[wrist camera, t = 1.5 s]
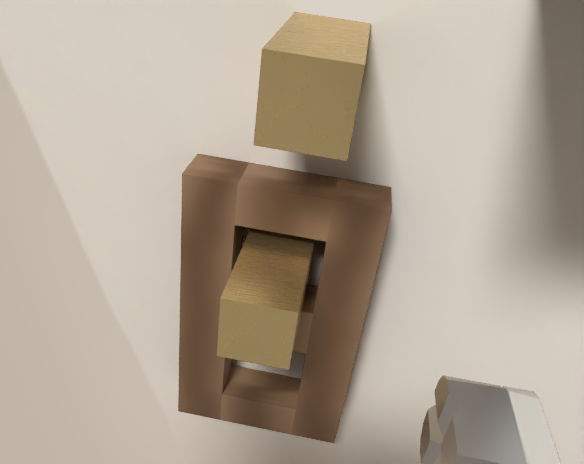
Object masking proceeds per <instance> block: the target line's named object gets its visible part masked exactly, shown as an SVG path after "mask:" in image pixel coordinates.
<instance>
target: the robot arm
mask: <svg viewBox="0 0 584 464" xmlns="http://www.w3.org/2000/svg"><path fill="white" fill-rule="evenodd" d="M435 399H436V405H435V406H433V407H431V408H430V409H428V411H427V414H426V417H425V420H424V423H423V428H422V434H421V445H420V456H421V464H561V461H560V458H559V455H558V452H557V449H556V446H555V443H554V441H553V438H552V435H551V432H550V429H549V426H548V423H547V420H546V417H545V414H544V411H543V408H542V405H541V402H540V399H539V397H538V395H537V394H536V393H535V392H533V391H527V390H522V389H516V388H510V387H505V386H503V387H501V386H498V385H492V384H487V383H481V382H476V381H471V380H465V379H460V378H454V377H449V376H444V375H443V376H442V377H441V379H440V380H439V382H438V384H437V387H436V389H435Z"/></svg>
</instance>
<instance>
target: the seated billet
mask: <svg viewBox="0 0 584 464" xmlns="http://www.w3.org/2000/svg"><path fill="white" fill-rule="evenodd" d="M314 242H315V239H309V238H304V237H298V236H293V235H287V234H282V233H276V232H271V231H265V230H260V229H254V228H250V230H249V232H248V235H247V237H246V240H245V242H244V244H243V247H242V249H241V251H240V254H239V256H238V258H237V261H236V263H235V265H234V268H233V270H232V272H231V275H230V277H229V279H228V282H227V284H226V286H225V289H224V291H223V293H222V296H221V298H220V313H219V328H218V344H217V356H220V357H225V358H230V359H235V360H240V361H245V362H251V363H256V364H261V365H266V366H271V367H276V368H281V369H286V370H289V368H290V363H291V358H292V353H293V349H294V344H295V339H296V334H297V330H298V325H299V320H300V315H301V311H302V306H303V301H304V296H305V292H306V287H307V282H308V277H309V272H310V266H311V260H312V254H313V248H314Z"/></svg>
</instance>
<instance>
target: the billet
mask: <svg viewBox="0 0 584 464" xmlns="http://www.w3.org/2000/svg"><path fill="white" fill-rule="evenodd" d="M370 25H371V24H370V23H364V22H357V21H351V20H344V19H338V18H331V17H325V16H318V15H312V14H305V13H299V12H295V13H294V14H293V15H292V16H291V17H290V18H289V19H288V21H287V22H286V23H285V24H284V25H283V26H282V27H281V28H280V29H279V31H278V32H277V33H276V34H275V35H274V36H273V37H272V38H271V39H270V41H269V42H268V43H267V44H266V45H265V46H264V47H263V48H262V57H261V68H260V80H259V91H258V102H257V113H256V125H255V136H254V145H256V146H262V147H267V148H273V149H279V150H285V151H291V152H297V153H303V154H308V155H314V156H320V157H326V158H332V159H338V160H343V161H347V159H348V154H349V149H350V143H351V138H352V133H353V127H354V122H355V117H356V111H357V106H358V101H359V95H360V90H361V85H362V79H363V74H364V69H365V63H366V55H367V48H368V40H369V32H370Z"/></svg>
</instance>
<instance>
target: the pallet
mask: <svg viewBox="0 0 584 464" xmlns="http://www.w3.org/2000/svg"><path fill="white" fill-rule="evenodd" d="M390 215H391V187H386V186H380V185H375V184H369V183H363V182H357V181H351V180H346V179H340V178H334V177H328V176H323V175H317V174H311V173H305V172H300V171H294V170H288V169H282V168H277V167H271V166H265V165H259V164H253V163H248V162H242V161H236V160H230V159H225V158H219V157H213V156H207V155H202V154H197V155H196V157H195V158H194V159H193V161H192V162H191V163H190V164H189V166H188V167H187V168H186V170H185V171H184V172H183V173H182V222H181V283H180V344H179V405H178V411H180V412H185V413H190V414H195V415H200V416H205V417H210V418H214V419H219V420H224V421H229V422H234V423H239V424H244V425H249V426H253V427H258V428H263V429H268V430H273V431H278V432H283V433H287V434H292V435H297V436H302V437H307V438H312V439H317V440H322V441H326V442H331V443H334V442H335V438H336V434H337V429H338V425H339V421H340V417H341V413H342V409H343V405H344V401H345V397H346V393H347V389H348V385H349V381H350V377H351V373H352V369H353V365H354V361H355V356H356V352H357V348H358V344H359V340H360V336H361V332H362V328H363V324H364V320H365V316H366V312H367V308H368V304H369V300H370V296H371V292H372V288H373V283H374V279H375V275H376V271H377V267H378V263H379V259H380V255H381V251H382V247H383V243H384V239H385V235H386V231H387V227H388V223H389V219H390ZM244 227H249V228H254V229H260V230H265V231H271V232H276V233H282V234H287V235H293V236H298V237H304V238H309V239H315V240H320V241H326V246H325V251H324V257H323V262H322V268H321V273H320V279H319V285H318V286H314V285H309V284H307V287H306V292H305V296H304V301H303V306H302V311H301V315H300V320H299V325H298V330H297V334H296V339H295V344H294V349H293V351H294V352H299V353H304V354H306V356H305V362H304V367H303V373H302V378H301V379H298V378H293V377H288V376H283V375H278V374H273V373H268V372H263V371H258V370H253V369H248V368H243V367H238V366H233V365H232V359H230V358H225V357H220V356H217V344H218V328H219V313H220V298H221V296H222V293H223V291H224V289H225V286H226V284H227V282H228V279H229V277H230V275H231V272H232V270H233V268H234V265H235V263H236V261H237V258H238V256H239V254H240V251H241V249H242V241H243V229H244Z"/></svg>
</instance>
